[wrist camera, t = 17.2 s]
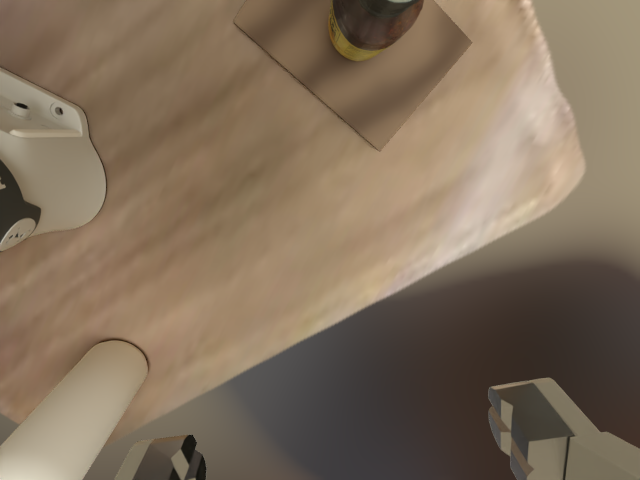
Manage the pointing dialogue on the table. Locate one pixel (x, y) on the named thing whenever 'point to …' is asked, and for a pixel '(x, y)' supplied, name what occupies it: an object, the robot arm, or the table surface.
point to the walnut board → (357, 76)
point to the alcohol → (75, 416)
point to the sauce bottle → (369, 25)
